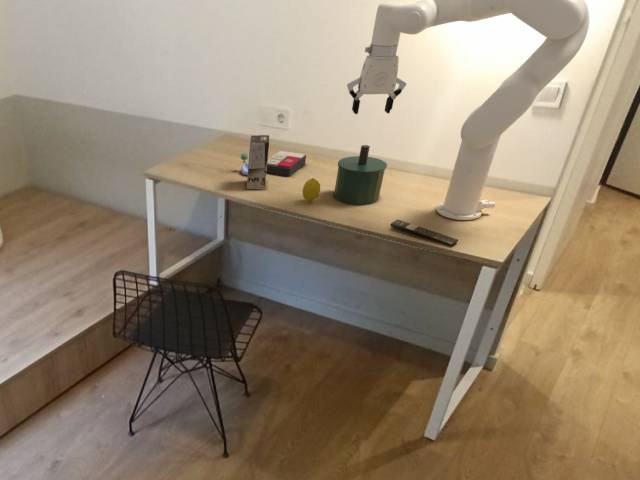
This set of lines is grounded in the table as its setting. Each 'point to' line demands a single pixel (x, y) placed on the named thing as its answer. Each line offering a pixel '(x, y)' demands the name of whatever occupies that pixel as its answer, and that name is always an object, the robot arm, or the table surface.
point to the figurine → (245, 167)
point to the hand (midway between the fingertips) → (371, 112)
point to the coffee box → (258, 161)
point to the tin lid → (362, 162)
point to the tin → (358, 187)
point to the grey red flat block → (285, 163)
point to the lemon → (311, 190)
